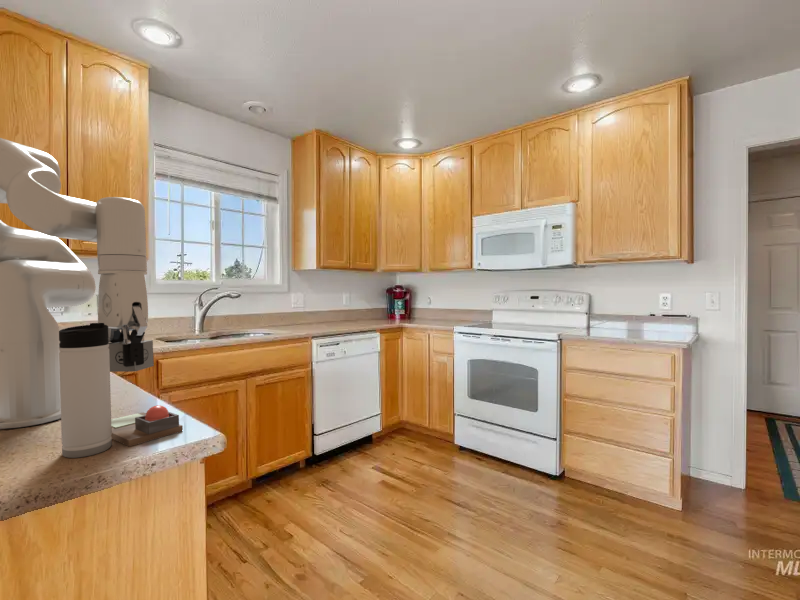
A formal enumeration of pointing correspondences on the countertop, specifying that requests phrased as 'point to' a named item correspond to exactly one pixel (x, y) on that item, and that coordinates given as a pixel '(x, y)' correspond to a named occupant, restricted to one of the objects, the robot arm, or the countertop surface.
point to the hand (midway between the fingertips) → (126, 363)
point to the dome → (156, 413)
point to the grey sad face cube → (117, 362)
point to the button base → (143, 428)
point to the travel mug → (85, 390)
